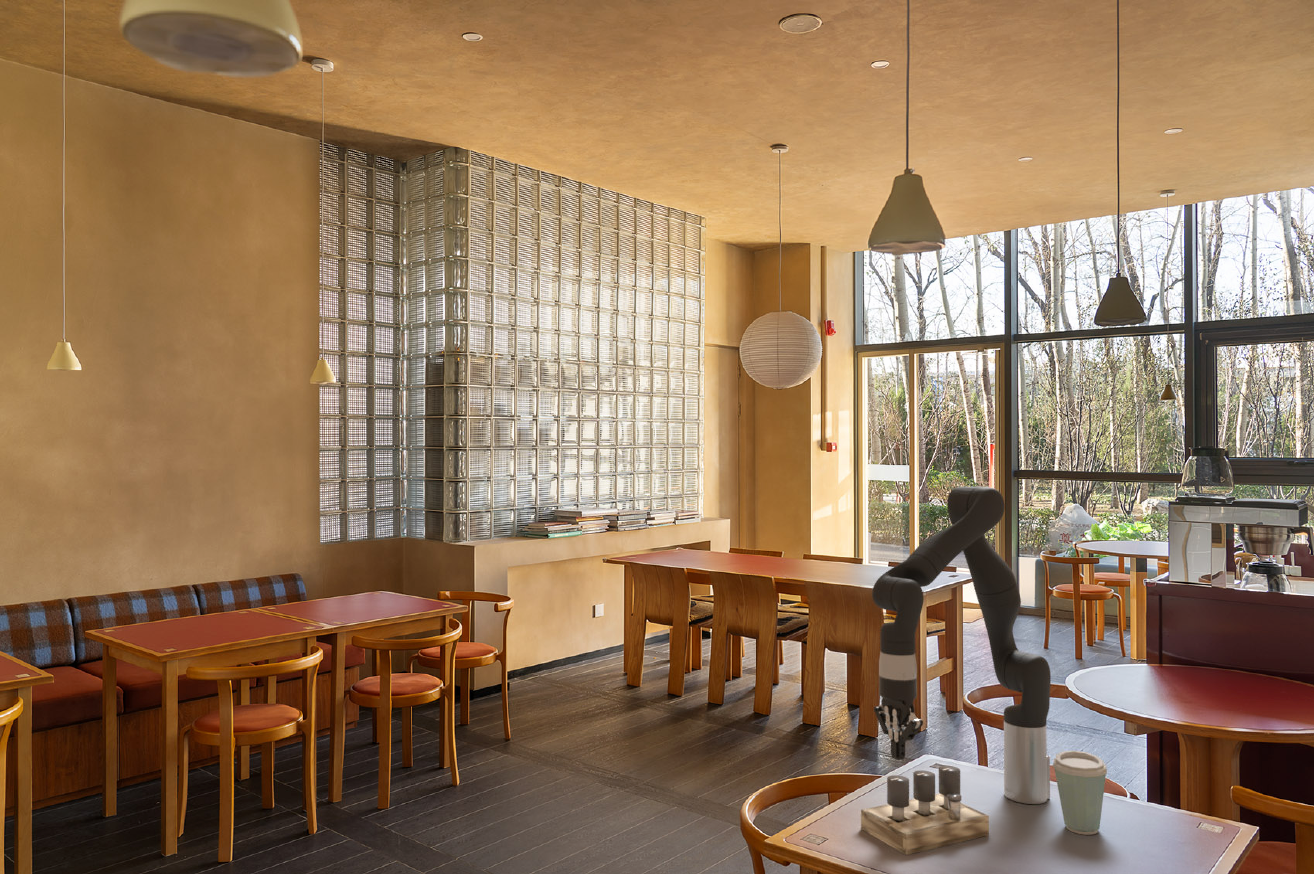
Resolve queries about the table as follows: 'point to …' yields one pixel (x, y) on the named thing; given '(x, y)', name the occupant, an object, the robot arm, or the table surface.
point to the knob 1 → (898, 795)
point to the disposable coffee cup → (1080, 790)
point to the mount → (923, 826)
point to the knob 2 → (949, 781)
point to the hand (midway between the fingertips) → (897, 758)
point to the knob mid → (924, 790)
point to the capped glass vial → (954, 806)
